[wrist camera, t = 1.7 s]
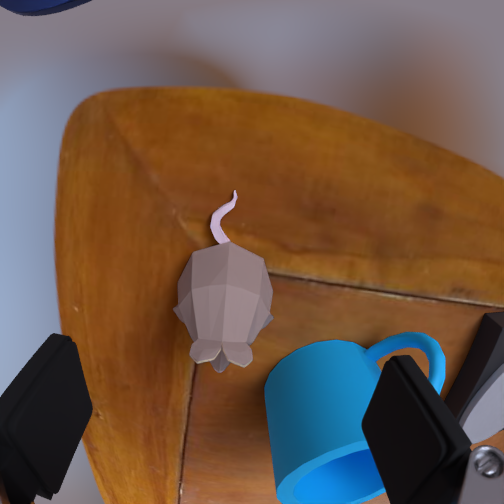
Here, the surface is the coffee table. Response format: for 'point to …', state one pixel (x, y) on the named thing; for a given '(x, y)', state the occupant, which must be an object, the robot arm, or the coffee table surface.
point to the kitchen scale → (481, 383)
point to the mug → (331, 417)
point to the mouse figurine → (224, 299)
